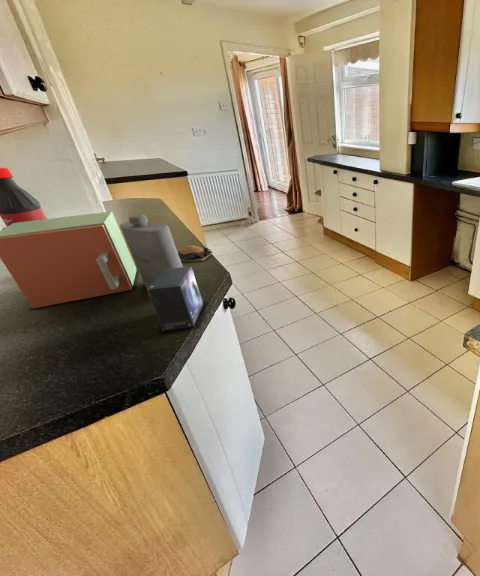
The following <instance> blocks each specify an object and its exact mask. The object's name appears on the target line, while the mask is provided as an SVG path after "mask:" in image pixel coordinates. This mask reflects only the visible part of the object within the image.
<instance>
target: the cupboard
mask: <svg viewBox="0 0 480 576" xmlns="http://www.w3.org/2000/svg"><path fill="white" fill-rule="evenodd" d="M99 225H104V227H105V229H106V232H107V234H108V236H109V238H110V241H111V243H112V245H113V247H114V249H115V252H116V254H117V256H118V258H119V260H120V263H121V265H122V267H123V269H124V272H125V274H126V276H127V278H128V280H129V283H130V285H131V287H132V288H133V286H134V283H135V280H136V279H135V278H136V274H137V271H138V268H137V265H136V263H135V261H134V259H133V256H132V254H131V252H130V249H129V247H128V245H127V242H126V240H125V238H124V235H123V233H122V231H121V228H120V226H119V225H118V222H117V220H116V218H115V215H114V213H113V210H112V211H104V212H96V213H95V212H94V213H87V214H80V215H70V216H62V217H53V218H52V217H51V218H47V219H44V220H35V221H27V222H18V223H13V224H11V225H10V226H8V227H7V226H6V227H5V228H4V229H2V230H0V237H7V236H15V235H24V234H32V233H40V232H49V231H57V230H65V229H74V228H82V227H90V226H99Z"/></svg>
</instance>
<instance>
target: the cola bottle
mask: <svg viewBox="0 0 480 576" xmlns="http://www.w3.org/2000/svg"><path fill="white" fill-rule="evenodd" d="M13 178H14V176H13V174H12V172H11V171H10V170H9V168H7V167H0V218H1V220H2V222H3V223H4V225H5V226H6V228H7V227H8V226H10V225H11V224H13V223H18V222H27V221H35V220H44V219H48V218H47V216H46V214H45V212H44V210H43V209H42V206H41V204H40V202H39V201H38V199H36V198H35V197H34V196H33V195H32V194H31V193H29V192H28V191H26V190H25V189H23V188H22V187H21V186H20V185H18V183H17V182H15V180H14V179H13Z"/></svg>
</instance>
